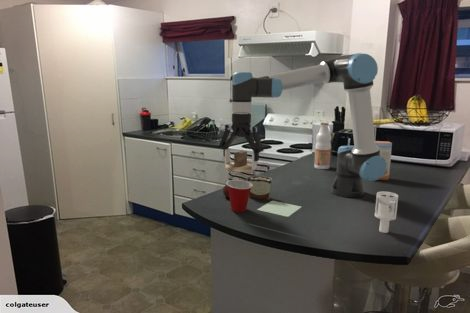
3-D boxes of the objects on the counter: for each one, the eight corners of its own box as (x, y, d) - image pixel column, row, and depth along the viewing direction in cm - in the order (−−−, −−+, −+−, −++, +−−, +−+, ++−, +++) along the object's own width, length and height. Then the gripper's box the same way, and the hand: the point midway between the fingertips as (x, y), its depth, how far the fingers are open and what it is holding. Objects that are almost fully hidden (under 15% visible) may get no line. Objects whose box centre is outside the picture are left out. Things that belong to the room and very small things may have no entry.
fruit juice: (311, 167, 226) (313, 122, 220) (319, 165, 233) (322, 121, 227) (324, 170, 220) (327, 124, 214) (332, 167, 226) (335, 123, 220)
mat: (301, 208, 154) (301, 206, 154) (287, 218, 142) (288, 216, 142) (272, 201, 161) (272, 200, 161) (256, 211, 150) (256, 209, 150)
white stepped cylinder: (373, 233, 129) (377, 192, 126) (373, 226, 135) (377, 187, 132) (394, 236, 127) (399, 195, 123) (393, 229, 133) (398, 189, 130)
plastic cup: (250, 216, 143) (250, 187, 141) (223, 214, 145) (223, 185, 143) (254, 207, 154) (254, 180, 151) (229, 205, 156) (229, 178, 153)
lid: (260, 167, 148) (261, 151, 146) (245, 173, 138) (246, 156, 136) (235, 163, 154) (235, 148, 152) (219, 169, 144) (219, 152, 143)
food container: (275, 197, 167) (275, 176, 165) (272, 201, 162) (272, 179, 160) (249, 194, 171) (250, 174, 169) (245, 198, 166) (246, 177, 164)
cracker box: (385, 177, 204) (389, 140, 200) (388, 180, 199) (392, 142, 194) (360, 176, 206) (363, 140, 201) (362, 179, 200) (365, 142, 196)
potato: (229, 193, 172) (229, 181, 171) (245, 198, 166) (245, 185, 165) (218, 197, 167) (218, 184, 166) (235, 202, 161) (235, 188, 159)
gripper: (273, 114, 138) (271, 169, 142) (221, 110, 151) (220, 161, 155) (264, 115, 132) (262, 173, 136) (210, 111, 144) (210, 164, 149)
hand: (240, 166), depth 146 cm, fingers closed on lid, 12 cm apart
